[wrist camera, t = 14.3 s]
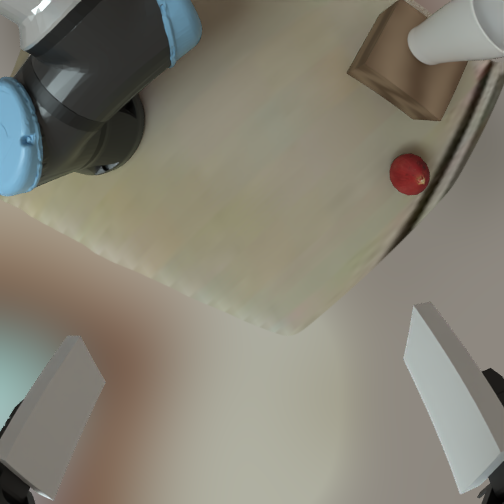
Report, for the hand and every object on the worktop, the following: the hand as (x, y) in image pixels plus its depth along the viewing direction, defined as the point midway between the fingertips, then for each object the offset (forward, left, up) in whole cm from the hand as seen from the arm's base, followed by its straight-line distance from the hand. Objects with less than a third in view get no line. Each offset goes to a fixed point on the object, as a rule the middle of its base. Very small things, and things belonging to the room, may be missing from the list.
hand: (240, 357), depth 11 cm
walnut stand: (+10, +26, -35) cm, 45 cm away
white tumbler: (+9, +27, -27) cm, 39 cm away
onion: (+18, +12, -35) cm, 41 cm away
